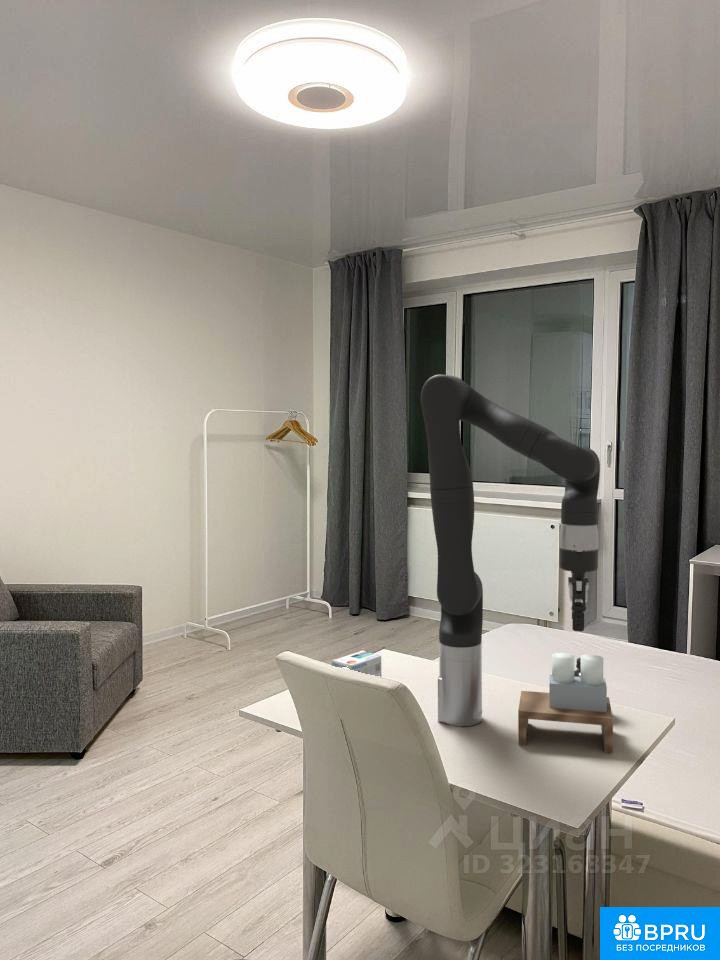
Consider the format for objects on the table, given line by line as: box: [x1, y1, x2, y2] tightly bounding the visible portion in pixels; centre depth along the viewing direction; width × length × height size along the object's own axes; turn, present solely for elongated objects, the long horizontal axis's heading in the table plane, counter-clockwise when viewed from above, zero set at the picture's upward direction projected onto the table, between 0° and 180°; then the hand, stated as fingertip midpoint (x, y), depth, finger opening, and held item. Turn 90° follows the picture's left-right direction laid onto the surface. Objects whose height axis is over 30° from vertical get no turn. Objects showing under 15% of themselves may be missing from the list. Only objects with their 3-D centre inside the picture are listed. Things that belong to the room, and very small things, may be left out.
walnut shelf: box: [517, 690, 614, 754], centre depth 151 cm, size 18×12×7 cm, turn 75°
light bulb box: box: [331, 650, 383, 677], centre depth 173 cm, size 11×7×11 cm, turn 136°
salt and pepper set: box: [548, 652, 608, 712], centre depth 150 cm, size 11×6×10 cm, turn 75°
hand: (577, 625), depth 149 cm, fingers open, 8 cm apart
